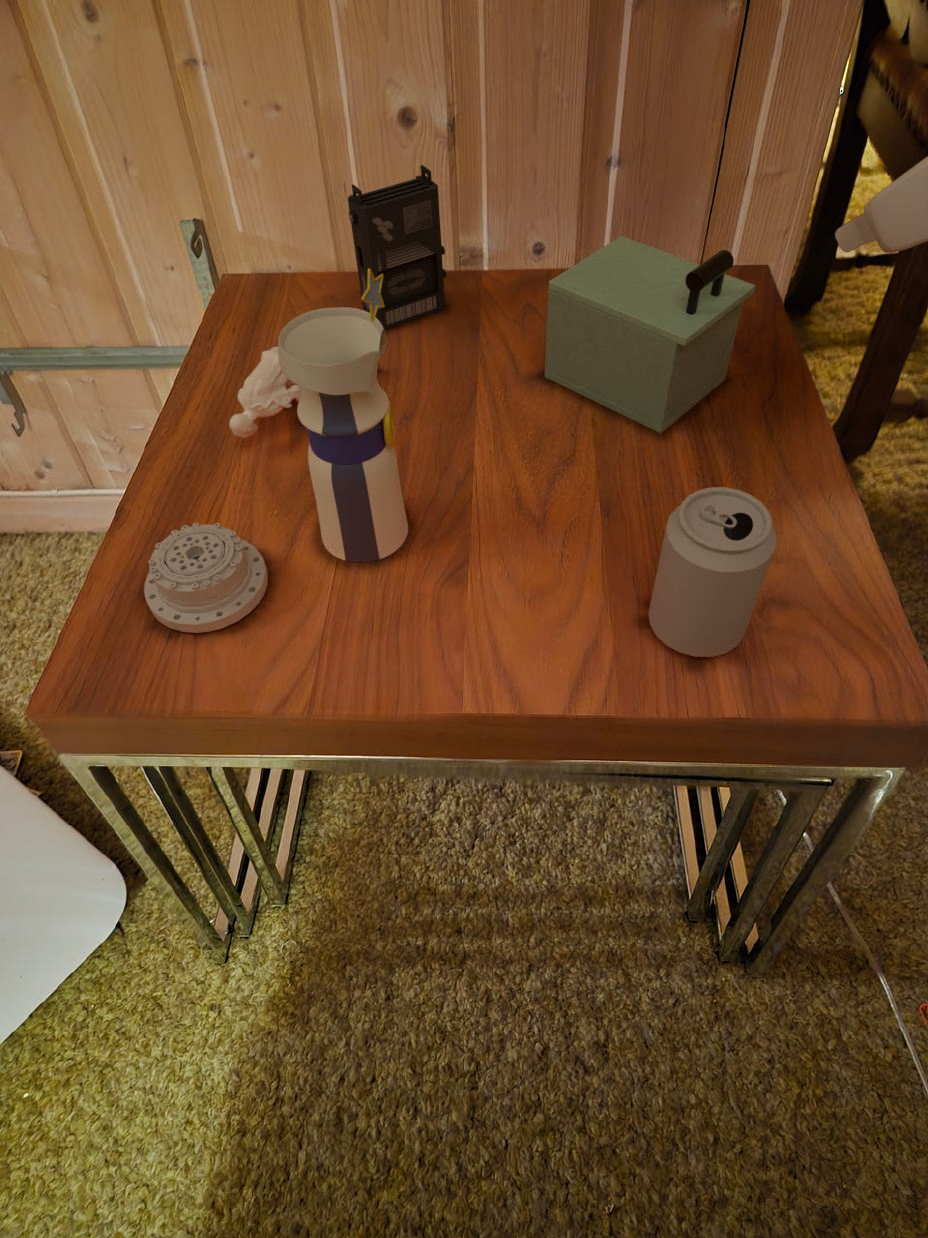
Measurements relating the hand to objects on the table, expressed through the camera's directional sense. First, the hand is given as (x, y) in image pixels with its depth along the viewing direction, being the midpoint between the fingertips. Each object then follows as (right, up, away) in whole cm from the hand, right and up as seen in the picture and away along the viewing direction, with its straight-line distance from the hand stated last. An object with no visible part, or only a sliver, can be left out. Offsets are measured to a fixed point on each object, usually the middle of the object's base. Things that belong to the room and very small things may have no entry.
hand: (873, 215), depth 62 cm
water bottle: (-39, -22, +12) cm, 47 cm away
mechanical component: (-52, -28, +9) cm, 59 cm away
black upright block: (-37, +6, +35) cm, 52 cm away
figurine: (-47, -8, +24) cm, 54 cm away
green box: (-13, -5, +25) cm, 29 cm away
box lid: (-13, +1, +17) cm, 22 cm away
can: (-12, -31, +4) cm, 33 cm away
